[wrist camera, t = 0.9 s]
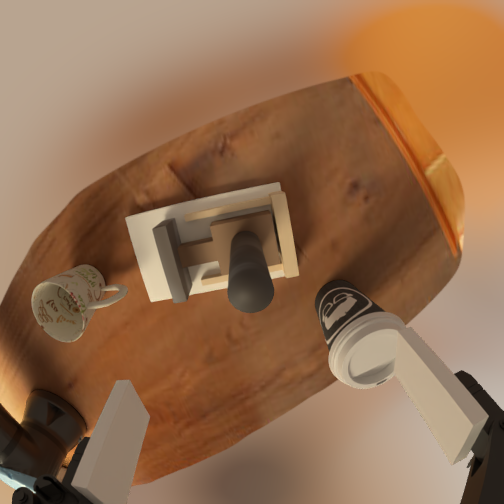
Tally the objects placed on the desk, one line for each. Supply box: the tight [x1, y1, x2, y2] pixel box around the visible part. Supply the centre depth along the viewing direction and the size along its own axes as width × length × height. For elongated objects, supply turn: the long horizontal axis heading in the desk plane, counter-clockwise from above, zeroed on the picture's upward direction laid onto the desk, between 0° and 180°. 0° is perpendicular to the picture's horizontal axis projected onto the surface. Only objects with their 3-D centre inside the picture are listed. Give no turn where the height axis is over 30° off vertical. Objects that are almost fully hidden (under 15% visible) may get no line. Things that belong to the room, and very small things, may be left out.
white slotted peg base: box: [125, 182, 299, 302], centre depth 37 cm, size 20×12×4 cm, turn 101°
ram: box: [152, 210, 280, 313], centre depth 30 cm, size 13×9×16 cm
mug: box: [32, 264, 128, 342], centre depth 35 cm, size 8×13×10 cm, turn 99°
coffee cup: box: [315, 280, 406, 389], centre depth 35 cm, size 10×10×15 cm
